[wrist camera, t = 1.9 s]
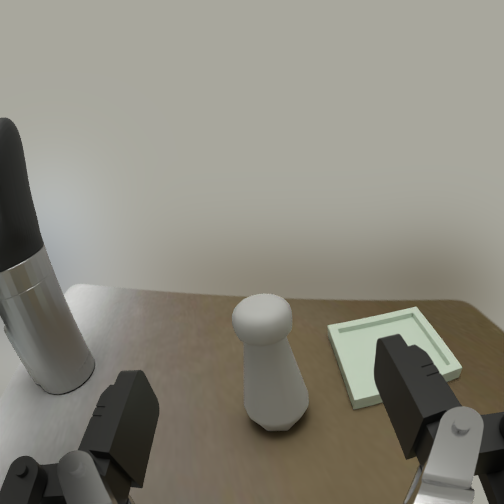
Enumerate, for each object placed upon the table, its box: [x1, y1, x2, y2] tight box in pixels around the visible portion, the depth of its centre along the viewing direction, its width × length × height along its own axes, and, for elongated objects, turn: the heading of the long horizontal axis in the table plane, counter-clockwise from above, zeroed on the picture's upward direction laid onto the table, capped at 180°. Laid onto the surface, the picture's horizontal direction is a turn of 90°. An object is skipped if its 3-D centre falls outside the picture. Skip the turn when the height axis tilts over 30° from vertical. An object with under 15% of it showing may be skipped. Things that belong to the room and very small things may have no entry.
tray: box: [328, 307, 462, 410], centre depth 31 cm, size 12×12×2 cm
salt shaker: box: [232, 294, 309, 431], centre depth 24 cm, size 6×6×13 cm
